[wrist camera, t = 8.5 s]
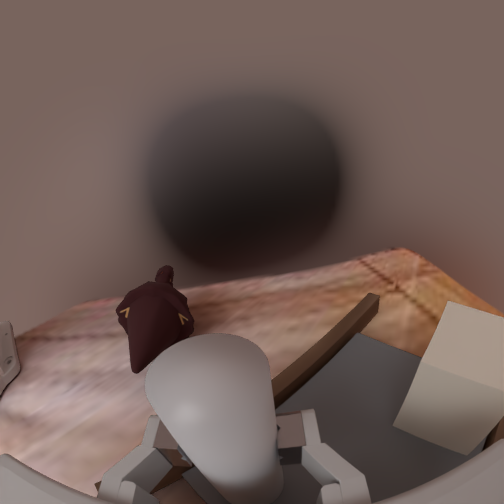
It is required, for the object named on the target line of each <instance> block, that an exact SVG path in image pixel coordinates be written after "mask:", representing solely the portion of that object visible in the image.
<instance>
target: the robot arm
mask: <svg viewBox="0 0 504 504" xmlns="http://www.w3.org/2000/svg"><path fill="white" fill-rule="evenodd" d="M19 371H20V364H19V359H18V355H17V350H16V345H15V340H14V334H13V328H12V325H11V323H10V322H9V321H4V322H0V395H1V393H2V391H3V390H4V388H5V387H6V385H7V384H8V383H9V382H10V381H11V380H12V379H13V378H14V377H15V376H16V375H17V374H18V372H19ZM275 415H276V422H277V430H278V432H277V444H278V453H279V461H280V466H281V465H292V464H301V463H302V465H303V466H304V467H305V469H306V470H307V471H308V472H309V473H310V474H311V475H312V476H313V477H314V478H315V479H316V480H317V481H318V482H319V483H320V484H321V485H322V486H323V487H322V488H321V490H320V493H319V496H318V498H317V501H316V504H504V439H500V440H498V441H497V442H495V443H494V444H493V445H491V446H490V447H488V448H487V449H485V450H484V451H482V452H481V453H479V454H478V455H476V456H475V457H473V458H471V459H470V460H468V461H467V462H465V463H463V464H461V465H460V466H458V467H456V468H454V469H453V470H451V471H449V472H447V473H445V474H443V475H441V476H439V477H437V478H435V479H433V480H431V481H429V482H427V483H425V484H423V485H420V486H418V487H416V488H413V489H411V490H409V491H406V492H404V493H401V494H399V495H396V496H393V497H390V498H388V499H385V500H382V501H379V502H375V503H371V499H370V495H369V491H368V487H367V483H366V479H365V475H364V474H362V473H361V472H360V471H358V470H357V469H356V468H355V467H353V466H352V465H351V464H350V463H349V462H347V461H346V460H345V459H344V458H342V457H341V456H340V455H339V454H338V453H337V452H335V451H334V450H333V449H332V448H331V447H330V446H328V445H327V444H326V443H321V439H320V434H319V429H318V424H317V419H316V414H315V411H314V409H308V410H301V411H293V412H286V413H279V414H275ZM173 466H186V467H192V461H191V460H190V458H189V457H188V456H187V455H186V453H185V452H184V451H183V450H182V448H181V447H180V446H179V444H178V443H177V442H176V440H175V439H174V438H173V436H172V435H171V433H170V432H169V431H168V429H167V428H166V426H165V425H164V424H163V422H162V421H161V419H160V418H159V416H158V415H151V416H150V417H149V419H148V423H147V426H146V430H145V433H144V437H143V440H142V444H141V446H137V447H136V448H134V449H133V450H132V451H131V452H130V453H129V454H127V455H126V456H125V457H124V458H123V459H122V460H120V461H119V462H118V463H117V464H115V465H114V466H113V467H112V468H111V469H109V470H108V471H107V472H106V473H104V475H103V478H102V482H101V485H100V488H99V492H98V495H97V498H96V497H93V496H90V495H88V494H85V493H83V492H80V491H78V490H75V489H73V488H70V487H68V486H66V485H64V484H62V483H59V482H57V481H55V480H53V479H51V478H49V477H47V476H45V475H43V474H41V473H40V472H38V471H36V470H34V469H32V468H31V467H29V466H27V465H25V464H24V463H22V462H20V461H19V460H17V459H16V458H14V457H12V456H11V455H9V454H2V455H0V504H159V503H160V501H159V500H158V499H157V498H156V497H154V496H152V495H151V494H149V493H150V492H151V491H152V490H153V489H154V487H155V486H156V485H157V484H158V483H159V482H160V481H161V480H162V478H163V477H164V476H165V475H166V474H167V473H168V472H169V470H170V469H171V468H172V467H173Z"/></svg>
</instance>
